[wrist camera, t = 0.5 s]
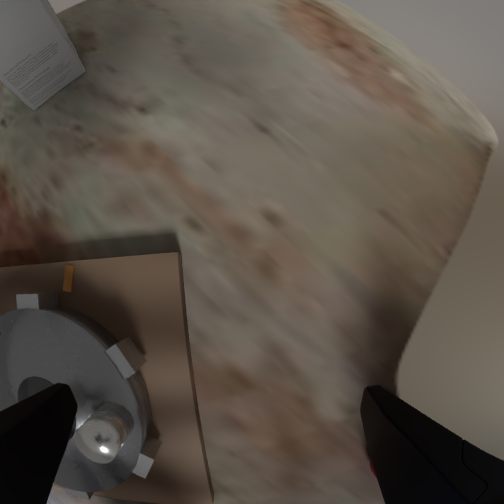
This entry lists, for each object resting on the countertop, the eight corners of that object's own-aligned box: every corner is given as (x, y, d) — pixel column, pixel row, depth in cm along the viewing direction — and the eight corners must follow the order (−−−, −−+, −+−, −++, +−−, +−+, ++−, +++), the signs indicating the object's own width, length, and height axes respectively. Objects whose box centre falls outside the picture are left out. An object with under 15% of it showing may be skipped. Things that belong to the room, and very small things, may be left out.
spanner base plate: (214, 494, 20) (213, 506, 18) (22, 467, 19) (14, 474, 17) (181, 253, 21) (177, 251, 20) (-22, 270, 20) (-34, 270, 19)
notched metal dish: (174, 488, 18) (160, 543, 12) (25, 463, 18) (-10, 495, 11) (139, 287, 19) (98, 293, 13) (-15, 294, 19) (-69, 297, 12)
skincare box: (20, 67, 22) (-55, -15, 6) (70, 30, 22) (12, -68, 7) (34, 115, 21) (-68, 24, 6) (91, 71, 22) (16, -49, 6)
